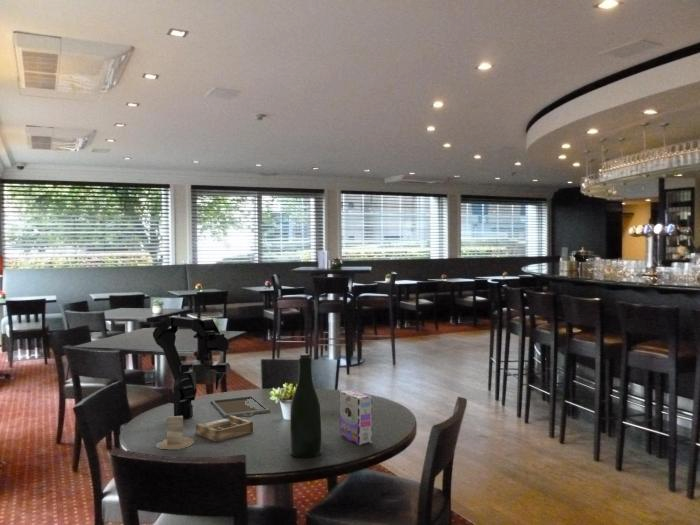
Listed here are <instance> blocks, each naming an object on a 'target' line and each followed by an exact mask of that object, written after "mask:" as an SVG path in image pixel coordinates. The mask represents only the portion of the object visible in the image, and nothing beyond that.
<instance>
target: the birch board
mask: <svg viewBox="0 0 700 525" xmlns="http://www.w3.org/2000/svg"><path fill="white" fill-rule="evenodd" d="M166 434H167V435H166V439H167V445H174V444H182V443H183V437H184V419H183V416H174V415H172V416H167V418H166Z"/></svg>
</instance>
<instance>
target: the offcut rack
mask: <svg viewBox="0 0 700 525" xmlns="http://www.w3.org/2000/svg"><path fill="white" fill-rule="evenodd" d="M253 432H254V422H253V421H251V420H247V419H244V418H242V417H240V416H237V417H236V416H232V415H230V416H229V418H224V419H218V420H214V421H211V422H206V423H200V422H198V423H195V434H196V433H197V434H196V435H199V436H201V435H202V436H201V437H204V438H207V439H208V440H211V441H214V442H216V443H217V442H220V441H225V440H228V439H231V438H235V437H239V436H243V435H247V434H250V433H253Z"/></svg>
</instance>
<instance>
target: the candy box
mask: <svg viewBox="0 0 700 525" xmlns="http://www.w3.org/2000/svg"><path fill="white" fill-rule="evenodd" d="M339 433H340V434H339V436H340V437H343V438H344V439H346V440H348V441H350V442H352V443H354V444H356V445H358V446H361V445H362V446H363V445H367V444H372V443H373V397H372V396H371V395H368V394H366V393H362V392H361V391H357V390H355V389H352V388H351V389H345V390H344V389H343V390H339Z"/></svg>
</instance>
